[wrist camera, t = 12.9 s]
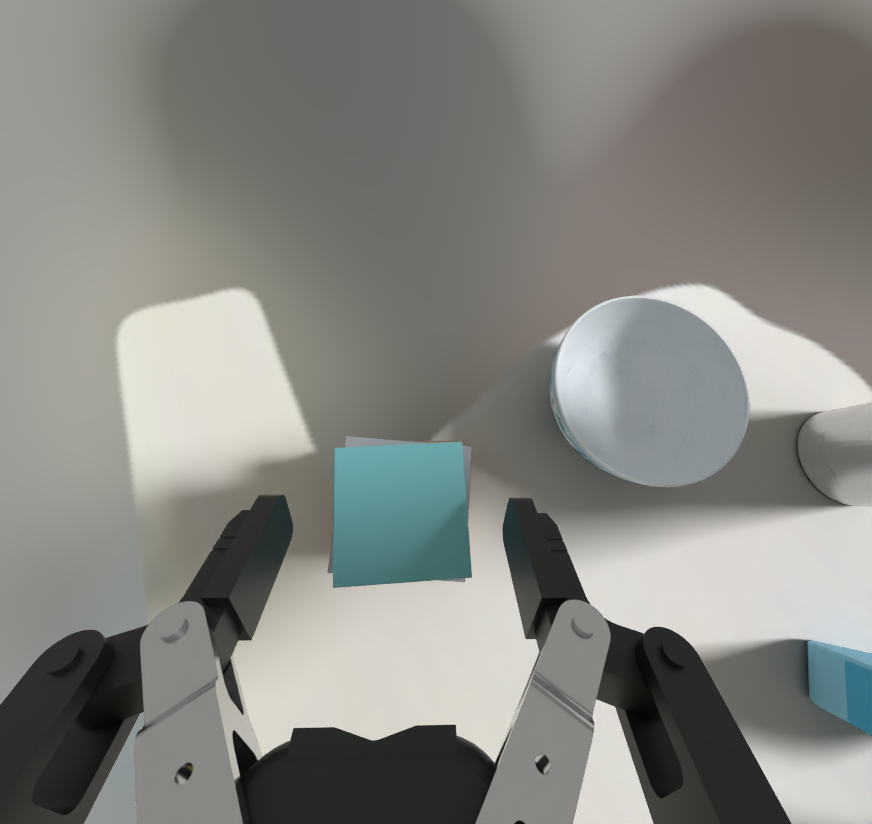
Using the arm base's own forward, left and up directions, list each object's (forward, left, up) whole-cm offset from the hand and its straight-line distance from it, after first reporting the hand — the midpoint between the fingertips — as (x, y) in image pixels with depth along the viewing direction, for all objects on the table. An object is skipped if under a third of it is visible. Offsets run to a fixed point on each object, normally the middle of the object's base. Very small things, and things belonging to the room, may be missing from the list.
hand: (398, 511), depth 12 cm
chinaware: (-18, -9, -18) cm, 27 cm away
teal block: (0, 0, -8) cm, 8 cm away
